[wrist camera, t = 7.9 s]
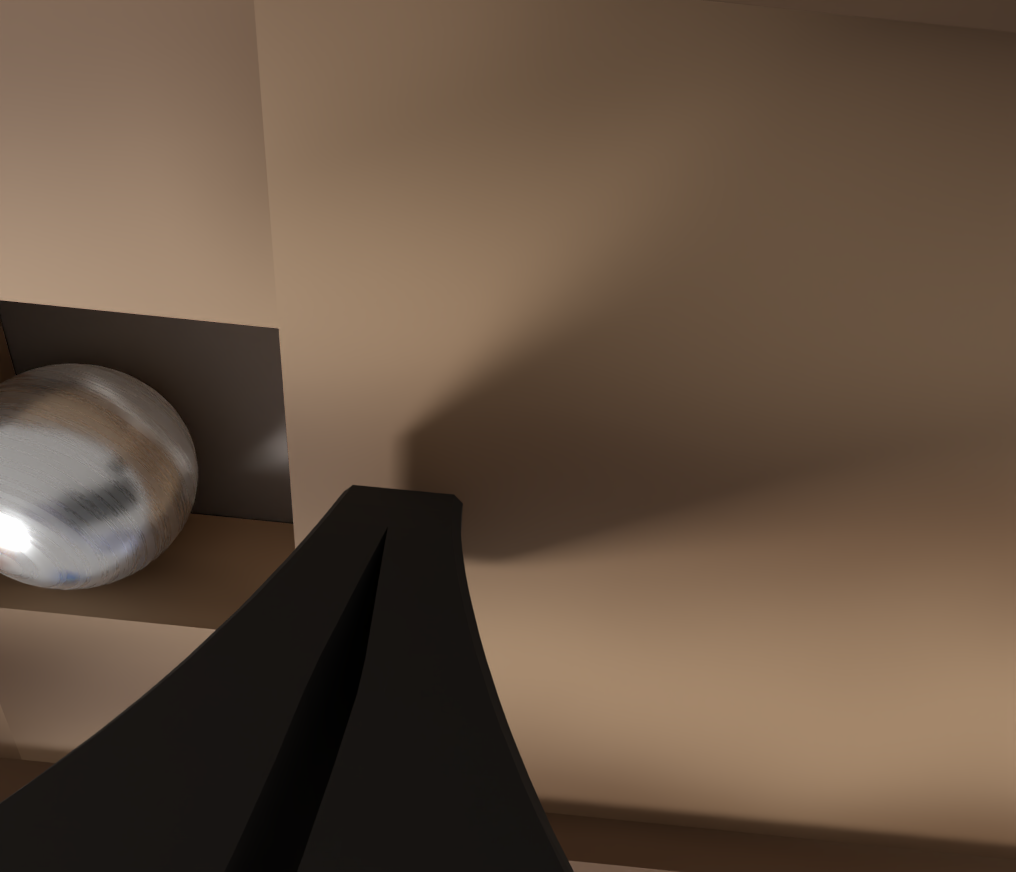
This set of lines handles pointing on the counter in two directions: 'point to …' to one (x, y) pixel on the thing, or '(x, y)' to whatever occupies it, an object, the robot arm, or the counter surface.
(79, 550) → the ball
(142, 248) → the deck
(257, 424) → the counter surface
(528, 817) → the robot arm
